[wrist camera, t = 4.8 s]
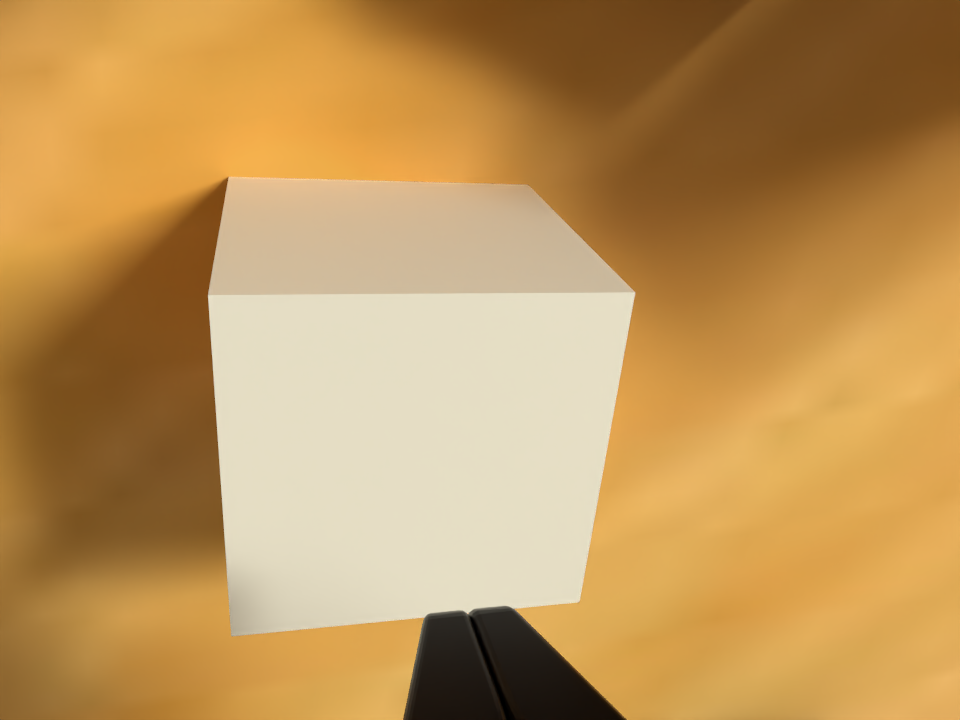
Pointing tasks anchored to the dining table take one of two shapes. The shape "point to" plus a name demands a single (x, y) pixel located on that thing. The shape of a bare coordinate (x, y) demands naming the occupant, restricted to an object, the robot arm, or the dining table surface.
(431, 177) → the dining table surface
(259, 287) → the cream block
